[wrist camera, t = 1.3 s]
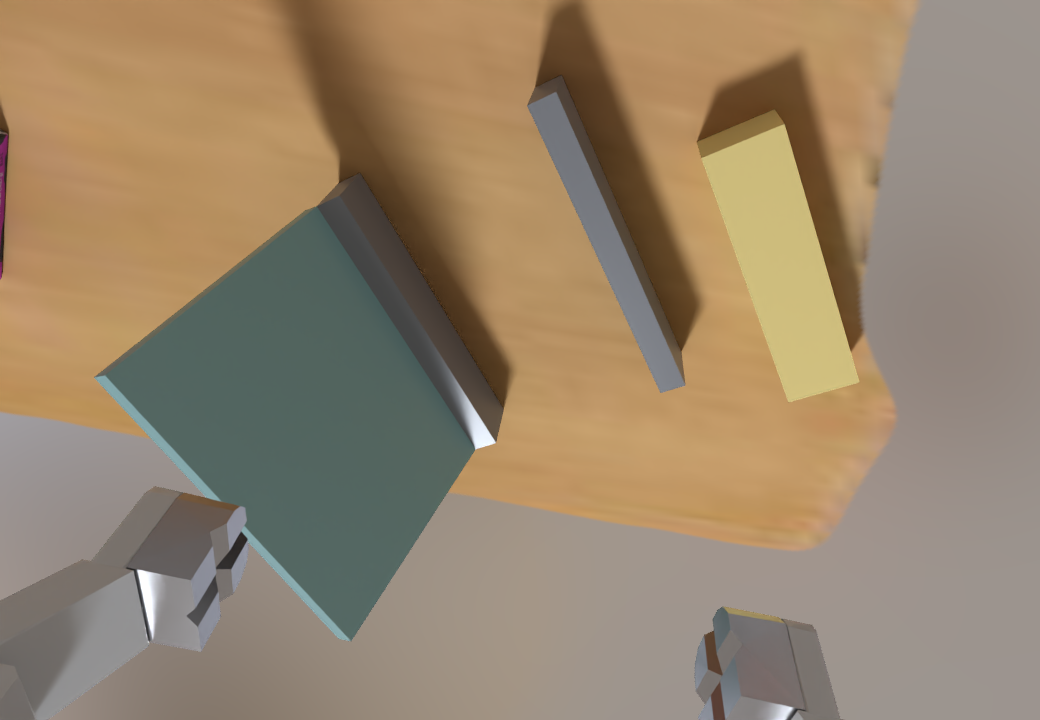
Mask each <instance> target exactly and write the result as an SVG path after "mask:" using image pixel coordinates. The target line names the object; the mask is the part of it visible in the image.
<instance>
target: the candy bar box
mask: <svg viewBox="0 0 1040 720" xmlns="http://www.w3.org/2000/svg"><path fill="white" fill-rule="evenodd" d="M7 145H8V134H7V133H6V132H4V131H2V130H1V129H0V279H1V278H2V251H3V224H4V205H5V184H6V164H7Z"/></svg>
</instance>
